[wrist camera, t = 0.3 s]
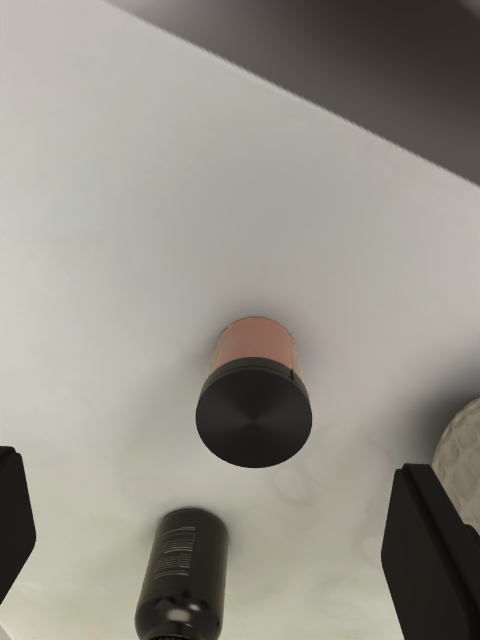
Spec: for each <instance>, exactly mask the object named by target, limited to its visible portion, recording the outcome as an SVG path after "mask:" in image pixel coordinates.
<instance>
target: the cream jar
mask: <svg viewBox="0 0 480 640" xmlns="http://www.w3.org/2000/svg"><path fill="white" fill-rule="evenodd" d="M243 357H263V358H268V359H272V360H275V361H277V362H280V363H282V364H284V365H285V366H287V367H288V368H290V369H293V371H294V372H295V373H296V374H297V375H298V377H299V378H300V379H301V380H302V378H301V372H300V366H299V361H298V355H297V350H296V345H295V342H294V340H293V338H292V336H291V335H290V333H289V332H288V331H287V330H286V329H285V328H284V327H283V326H281V325H280V324H278V323H276V322H275V321H272V320H270V319H266V318H260V317H250V318H245V319H241V320H238V321H236V322H234V323H232V324H231V325H230V326H228V327H227V328H226V329H225V330H224V331H223V332H222V333H221V335H220V336H219V338H218V340H217V343H216V346H215V350H214V355H213V359H212V363H211V367H210V371H209V375H208V377H209V376H210V375H211V374H212V373H213V372H214V371H215V370H216V369H217V368H219V367H220V366H222V365H223V364H225V363H227V362H229V361H232V360H235V359H238V358H243Z"/></svg>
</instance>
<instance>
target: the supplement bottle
mask: <svg viewBox="0 0 480 640" xmlns="http://www.w3.org/2000/svg"><path fill="white" fill-rule="evenodd" d="M227 555H228V535H227V531H226V529H225V527H224V526H223V524H222V523H221V522H220V521H219V520H218V519H217V518H216V517H214V516H213V515H211V514H209V513H207V512H204V511H201V510H195V509H186V510H180V511H177V512H174V513H172V514H170V515H169V516H167V517H166V518H165V519H164V520H163V521H162V522H161V523H160V525H159V527H158V529H157V532H156V535H155V539H154V543H153V547H152V550H151V554H150V558H149V562H148V566H147V570H146V574H145V577H144V581H143V585H142V589H141V593H140V597H139V601H138V605H137V609H136V613H135V628H136V632H137V635H138V637H139V639H140V640H218V638H219V636H220V634H221V631H222V624H223V613H224V598H225V584H226V569H227Z"/></svg>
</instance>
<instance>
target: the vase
mask: <svg viewBox="0 0 480 640" xmlns="http://www.w3.org/2000/svg"><path fill="white" fill-rule="evenodd" d="M431 467H432V468H433V470H434V472H435V474H436V475H437V477H438V479H439V481H440V482H441V484H442V486H443V488H444V489H445V491H446V493H447V495H448V496H449V498H450V500H451V502H452V503H453V505H454V507H455V509H456V510H457V512H458V514H459V516H460V517H461V519H462V521H463V523H464V524H470V525H471V526H473V527H474V528H475V530H476V531H477V532H478V534H479V536H480V397H478V398H477V399H475V400H473V401H472V402H470V403H469V404H467V405H466V406H465V407H463V408H462V409H461V410H460V411H459V412H458V413H457V414H456V415H455V416H454V417H453V419H452V420H451V421H450V423H449V424H448V426H447V428H446V429H445V431H444V433H443V435H442V437H441V439H440V440H439V443H438V446H437V449H436V451H435V455H434V459H433V462H432V466H431Z"/></svg>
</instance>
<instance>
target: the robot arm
mask: <svg viewBox="0 0 480 640" xmlns="http://www.w3.org/2000/svg"><path fill="white" fill-rule="evenodd" d="M35 542H36V530H35V525H34V520H33V514H32V509H31V504H30V498H29V493H28V487H27V482H26V477H25V471H24V466H23V461H22V456H21V454H20V453H16V451H15V449H14V448H13V447H10V446H0V605H1V603H2V602H3V600H4V598H5V596H6V595H7V593H8V591H9V590H10V588H11V586H12V585H13V583H14V581H15V579H16V578H17V576H18V574H19V573H20V571H21V569H22V568H23V566H24V564H25V562H26V561H27V559H28V557H29V556H30V554H31V552H32V550H33V548H34V546H35ZM381 562H382V567H383V571H384V574H385V577H386V581H387V584H388V587H389V590H390V594H391V597H392V600H393V603H394V607H395V610H396V613H397V616H398V620H399V623H400V626H401V629H402V633H403V636H404V639H405V640H480V536H479V534H478V532H477V531H476V530H475V528H474V527H473V526H471V525H470V524H464V523H463V521H462V519H461V517H460V516H459V514H458V512H457V510H456V509H455V507H454V505H453V503H452V502H451V500H450V498H449V496H448V495H447V493H446V491H445V489H444V488H443V486H442V484H441V482H440V481H439V479H438V477H437V475H436V474H435V472H434V470H433V468H432V467H431V466H430V465H428V464H411V463H405V464H404V465H403V467H402V469H396V471H395V474H394V480H393V486H392V492H391V497H390V503H389V509H388V515H387V521H386V526H385V532H384V538H383V544H382V550H381Z"/></svg>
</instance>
